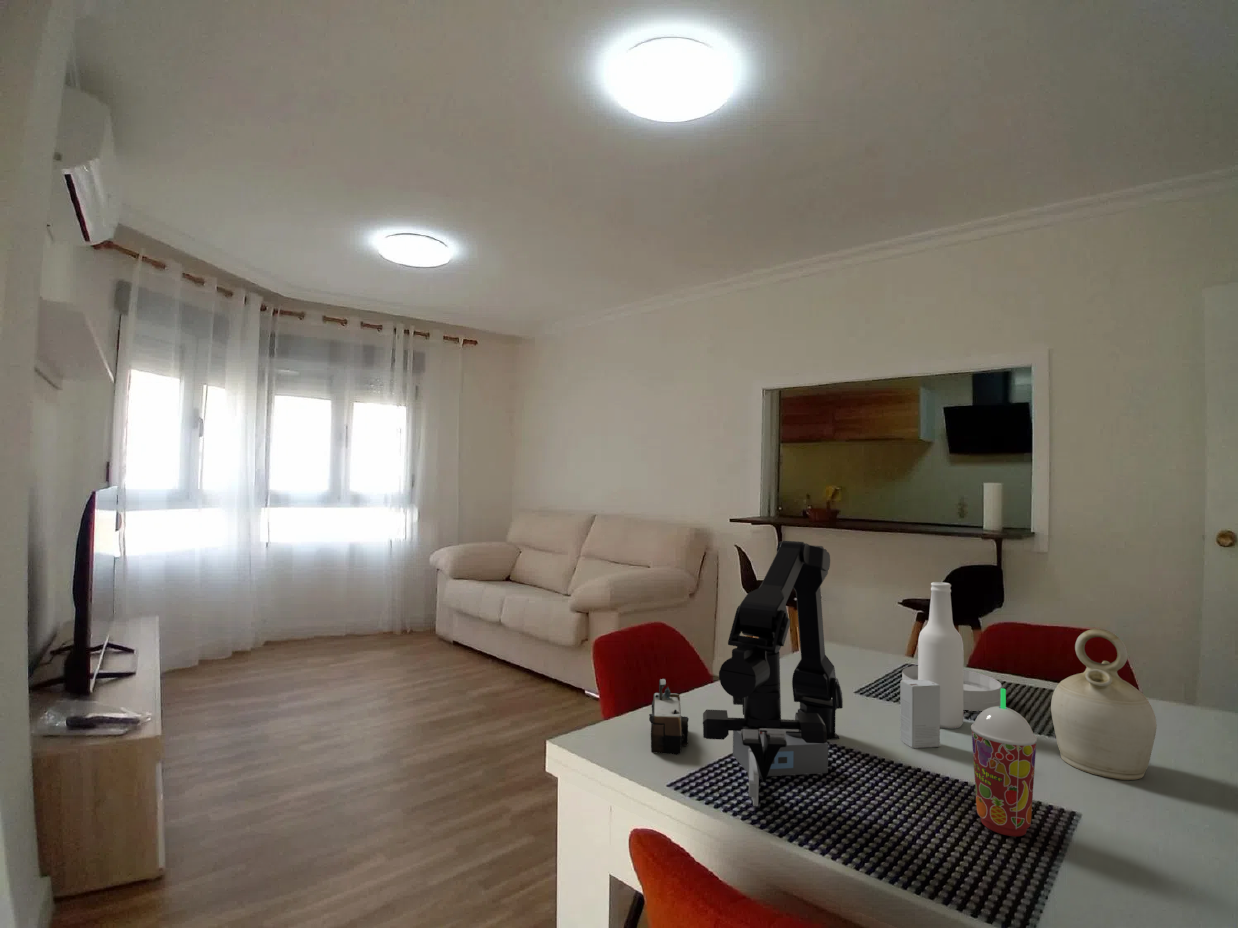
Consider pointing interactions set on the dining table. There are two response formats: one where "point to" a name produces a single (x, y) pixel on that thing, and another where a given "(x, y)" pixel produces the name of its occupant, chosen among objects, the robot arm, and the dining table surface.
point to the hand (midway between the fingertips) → (763, 781)
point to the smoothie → (1004, 769)
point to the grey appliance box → (788, 756)
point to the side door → (753, 778)
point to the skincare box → (920, 713)
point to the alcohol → (943, 656)
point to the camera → (667, 723)
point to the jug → (1103, 717)
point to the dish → (970, 689)
